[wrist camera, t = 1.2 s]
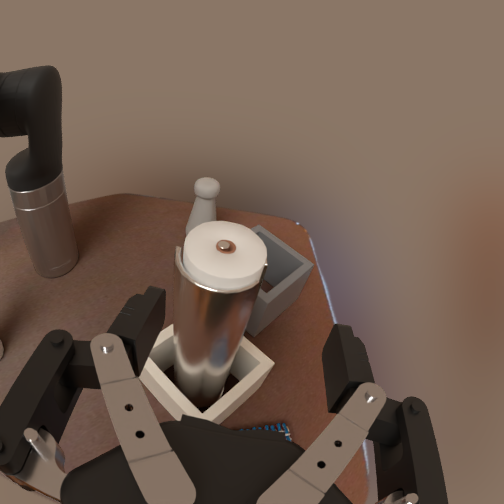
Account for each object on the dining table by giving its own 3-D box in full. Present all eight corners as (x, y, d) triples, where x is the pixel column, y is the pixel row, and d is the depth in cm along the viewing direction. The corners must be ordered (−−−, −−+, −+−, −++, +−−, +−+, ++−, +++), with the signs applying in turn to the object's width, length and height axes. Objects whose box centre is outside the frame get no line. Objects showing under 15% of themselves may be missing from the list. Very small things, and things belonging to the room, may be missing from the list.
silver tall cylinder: (205, 355, 40) (233, 206, 24) (233, 391, 37) (291, 258, 20) (165, 377, 36) (157, 230, 20) (193, 416, 33) (211, 297, 17)
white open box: (139, 378, 35) (131, 351, 30) (201, 334, 43) (205, 301, 37) (198, 442, 31) (202, 429, 26) (259, 387, 38) (275, 363, 33)
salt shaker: (201, 255, 54) (209, 195, 46) (178, 240, 56) (182, 180, 47) (221, 240, 58) (232, 182, 50) (199, 226, 60) (206, 169, 51)
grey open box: (202, 290, 48) (207, 252, 43) (248, 260, 56) (258, 224, 50) (253, 337, 44) (267, 303, 38) (297, 299, 51) (314, 264, 46)
